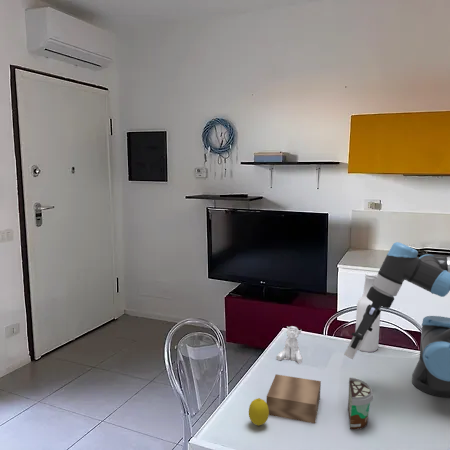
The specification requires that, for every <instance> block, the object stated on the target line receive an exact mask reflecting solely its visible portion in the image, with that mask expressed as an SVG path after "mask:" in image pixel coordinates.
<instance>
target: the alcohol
mask: <svg viewBox="0 0 450 450" xmlns="http://www.w3.org/2000/svg"><path fill="white" fill-rule="evenodd" d="M375 275H376V276H377V273H375V272H366V273H365V276H364V277H365V278H364V279H365V281H364V287H363V294H362V296H361V297H360V298H358V301H357V303H356V313H355V314H356V316H355V319H356V320H355V331H354V333H355V332H356V330H357V329H358V327H359V325H360V323H361V321H362V319H363V315H364V314H365V312H366V308H367V306H369V305H372V303H373V302H372V301H370V300H369V299H368V298H367V294H368V292H369V290H370V288H371V287H374V286H373V282H374V280H376V279H375V278H374V276H375ZM380 310H381V311H382V307H381V308H380ZM380 324H381V313H380V314H379V315H378V317H377V318H376V320H375V321H374V323H373V324H372V327H371V328H372V331H369V330H368V331H369V332H368V334H367V336H366V338H365V340H364V342H363V344H362V346H361V348H360V349H358V350H359V351H361V352H365V353H374V352H376V351H377V349H379V341H380V340H379V337H380ZM358 350H357V351H358Z"/></svg>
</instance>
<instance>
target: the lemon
mask: <svg viewBox="0 0 450 450" xmlns="http://www.w3.org/2000/svg"><path fill="white" fill-rule="evenodd" d="M266 402H267V401H265V400H264V399H262V398H259V397H258V398H255V399H253V400H252V401H251V403H250V404H249V408H248V417H249V420H250V422H252V423H253V424H254V425H255V426H256V425H257V426H259V427H260V426H261V425H264V424H265V423H267V422H268V419H269V416H270V415H269V409H268V405H267V403H266Z"/></svg>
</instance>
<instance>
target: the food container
mask: <svg viewBox="0 0 450 450" xmlns="http://www.w3.org/2000/svg"><path fill="white" fill-rule="evenodd" d="M347 398H348V399H347V400H348V404H347V415H348V416H347V417H348V424H349V430H353V431H354V430H360V429H363V428H365V427H367V425H368V418H369V414H370V413H369V412H370V407H371V406H370V405H371V402H372V401H373V399H374V394H373V389H372V388H371V386H370V385H369V384H368V383H367V382H365V381H363V380H362V379H361V380H360V379H358V378H354V377H349V379H348V397H347Z"/></svg>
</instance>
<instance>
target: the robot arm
mask: <svg viewBox="0 0 450 450" xmlns="http://www.w3.org/2000/svg"><path fill="white" fill-rule="evenodd" d="M418 254H419V251H418V250H417V249H415V248H413V247H411V246H409V245H407V244H404V243H402V242H400V241H396V242H394V243H392V246H391V247H390V249H389V251H388V252H387V254H386V256H385V257H384V261H383V262H382V264H381V266H380V268H379V271H378V272H377V273H376V275H375V276H374V278H375V279H376V280H374V282H373V286H374V287H371V288H370V290H369V292H368V294H367V298H368V299H369V300H370V301H372V302H373V303H372V305H369V306H367V308H366V312H365V314H364V315H363V319H362V321H361V323H360V325H359V327H358V329H357V330H356V329H355V331H356V332H355V331H354V332H352V333H351V336H352V338H351V340H350V342H349V344H348V346H347V348H346V350H345V351H344V355H343V356H346V357H347V358H349V359H351V360H354V359H355V356H356V353H357V351H358V349H360V348H361V346H362V344H363V342H364V340H365V338H366V336H367V334H368V332H369V331H372V328H371V327H372V324H373V323H374V321H375V320H376V318H377V317H378V315H379V314H380V315H381V312H382V308H384V309H390V308H391V306H392V305H393V302H394V300H395V297H396V296H397V295H398V294H399V292H400V290H401V287H402V285H403V284H404V281H407V282H408V283H411V284H413V285H415V286H416V287H419V288H421V289H423V290H425V291H427V292H429V293H431V294H432V295H433V294H434V295H435V296H439V297H440V298H441V297H443V298H444V297H446V296H447V295H448V294H449V293H450V256H435V255H433V254H422V255H420V257H418ZM380 308H381V310H380ZM368 330H369V331H368ZM420 335H421V336H420V345H419V346H420V347H419V348H420V349H419V359H418V362H417V364H416V366H415V368H414V370H413V372H412V374H411V375H412V377H411V383H412V385H413V386H414V387H415V388H417V389H418V390H419V391H421V392H423V393H426V394H429V395H432V396H437V397H440V398H441V397H442V398H450V317H447V316H441V315H428V316H424V317H423V318H422V323H421V334H420Z"/></svg>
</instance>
